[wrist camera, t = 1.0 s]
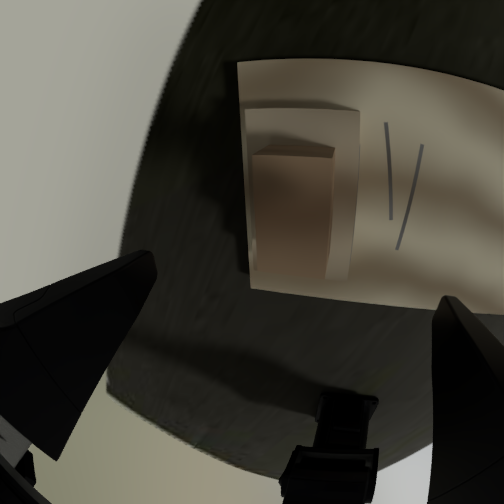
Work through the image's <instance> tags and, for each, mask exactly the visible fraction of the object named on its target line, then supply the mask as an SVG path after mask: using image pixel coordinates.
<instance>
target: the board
mask: <svg viewBox="0 0 504 504" xmlns="http://www.w3.org/2000/svg"><path fill="white" fill-rule="evenodd" d="M237 67H238V85H239V102H240V120H241V137H242V154H243V170H244V187H245V203H246V220H247V236H248V252H249V268H250V284H251V288H254V289H261V290H268V291H275V292H282V293H290V294H297V295H305V296H312V297H320V298H328V299H336V300H345V301H353V302H362V303H371V304H381V305H390V306H400V307H410V308H421V309H432V310H436V309H437V307H438V304H439V302H440V300H441V298H442V296H444V295H450V296H455V297H457V298H458V299H459V300H460V301H461V302H462V303H463V304H464V305H465V306H466V307H467V308H468V309H469V310H470V311H471V312H472V313H485V314H501V315H504V91H503V90H500V89H497V88H495V87H491V86H488V85H485V84H482V83H479V82H475V81H472V80H468V79H464V78H461V77H457V76H453V75H449V74H444V73H440V72H435V71H430V70H425V69H420V68H414V67H408V66H402V65H395V64H387V63H379V62H369V61H357V60H341V59H274V60H258V61H246V62H237ZM273 107H299V108H330V109H346V110H359V111H360V147H359V169H358V185H357V198H356V210H355V221H354V230H353V240H352V248H351V256H350V264H349V271H348V278H347V282H345V281H336V280H328V279H316V278H308V277H300V276H292V275H284V274H276V273H268V272H260V271H255V270H254V268H253V250H252V232H251V213H250V195H249V177H248V159H247V141H246V123H245V109H251V108H273Z"/></svg>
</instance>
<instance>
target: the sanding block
mask: <svg viewBox="0 0 504 504" xmlns="http://www.w3.org/2000/svg"><path fill="white" fill-rule="evenodd" d="M245 123H246V141H247V159H248V177H249V195H250V213H251V232H252V250H253V268H254V270H255V271H260V272H268V273H276V274H284V275H292V276H300V277H308V278H316V279H328V280H336V281H345V282H347V278H348V271H349V264H350V256H351V248H352V240H353V230H354V221H355V210H356V198H357V185H358V169H359V147H360V111H359V110H346V109H330V108H299V107H273V108H251V109H245Z"/></svg>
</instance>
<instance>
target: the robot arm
mask: <svg viewBox="0 0 504 504" xmlns="http://www.w3.org/2000/svg"><path fill="white" fill-rule="evenodd" d="M156 279H157V269H156V264H155V260H154V256H153V253H152V252H150V251H146V250H138V251H136V252H133V253H130V254H128V255H125V256H122V257H119V258H117V259H114V260H112V261H109V262H106V263H104V264H101V265H98V266H96V267H93V268H91V269H88V270H85V271H83V272H80V273H78V274H75V275H73V276H70V277H68V278H65V279H63V280H60V281H58V282H55V283H53V284H51V285H48V286H45V287H43V288H41V289H38V290H35V291H33V292H30V293H28V294H25V295H22V296H20V297H17V298H14V299H11V300H9V301H6V302H3V303H0V504H51V503H50V502H49V501H48V500H47V499H46V498H44V497H43V496H42V495H41V494H40V493H39V492H38V491H37V490H36V489H35V488H34V485H35V484H36V477H35V471H34V463H33V454H32V453H31V452H30V451H29V450H28V448H29V447H30V445H31V444H32V443H33V444H34V445H35V446H36V447H38V448H39V449H40V450H42V451H43V452H44V453H45V454H47V455H48V456H49V457H51V458H52V459H53V460H55V461H57V460H58V459H59V457H60V455H61V453H62V451H63V449H64V447H65V445H66V443H67V441H68V439H69V437H70V435H71V433H72V431H73V429H74V427H75V425H76V423H77V421H78V419H79V417H80V416H81V413H82V412H83V410H84V408H85V406H86V404H87V402H88V400H89V398H90V397H91V395H92V393H93V391H94V389H95V388H96V386H97V384H98V382H99V381H100V379H101V377H102V375H103V374H104V372H105V370H106V368H107V367H108V365H109V363H110V361H111V360H112V358H113V356H114V355H115V353H116V351H117V349H118V348H119V346H120V344H121V343H122V341H123V339H124V338H125V336H126V334H127V333H128V331H129V330H130V328H131V326H132V325H133V323H134V321H135V320H136V318H137V316H138V315H139V313H140V311H141V309H142V307H143V305H144V303H145V301H146V299H147V297H148V295H149V293H150V291H151V289H152V287H153V285H154V283H155V281H156ZM432 387H433V448H432V449H433V450H432V464H431V476H430V486H429V494H428V502H427V504H504V346H503V345H502V344H501V343H500V342H499V340H498V339H497V338H496V337H495V336H494V335H493V334H492V333H491V332H490V331H489V330H488V329H487V328H486V326H485V325H484V324H483V323H482V322H481V321H480V320H479V319H478V318H477V317H476V316H475V315H474V314H473V313H472V312H471V311H470V310H469V309H468V308H467V307H466V306H465V305H464V304H463V303H462V302H461V301H460V300H459V299H458V298H457V297H455V296H450V295H444V296H442V298H441V300H440V302H439V304H438V307H437V309H436V311H435V314H434V316H433V319H432ZM378 403H379V399H378V398H371V397H360V396H350V395H342V394H334V393H326V392H324V393H322V394H321V397H320V401H319V405H318V409H317V413H316V417H315V422H317V423H318V426H317V430H316V435H315V439H314V443H313V447H305V446H302V445H297V446H296V448H295V450H294V451H293V452H292V455H291V457H290V460H289V462H288V464H287V467H286V469H285V471H284V472H283V474H282V475H281V477H280V478H279V484H280V486H281V496H282V497H284V500H283V503H282V504H365V503H371V502H372V499H373V495H374V491H375V485H376V478H377V468H378V456H379V448H374V449H366V442H367V434H368V424H369V420H370V419H371V417H372V415H373V413H374V411H375V409H376V407H377V405H378Z"/></svg>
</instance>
